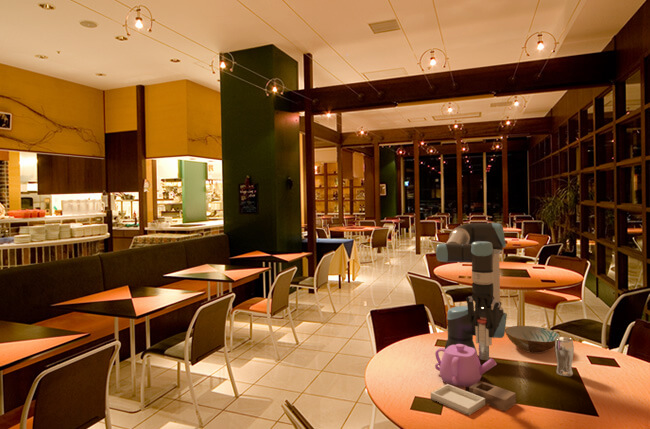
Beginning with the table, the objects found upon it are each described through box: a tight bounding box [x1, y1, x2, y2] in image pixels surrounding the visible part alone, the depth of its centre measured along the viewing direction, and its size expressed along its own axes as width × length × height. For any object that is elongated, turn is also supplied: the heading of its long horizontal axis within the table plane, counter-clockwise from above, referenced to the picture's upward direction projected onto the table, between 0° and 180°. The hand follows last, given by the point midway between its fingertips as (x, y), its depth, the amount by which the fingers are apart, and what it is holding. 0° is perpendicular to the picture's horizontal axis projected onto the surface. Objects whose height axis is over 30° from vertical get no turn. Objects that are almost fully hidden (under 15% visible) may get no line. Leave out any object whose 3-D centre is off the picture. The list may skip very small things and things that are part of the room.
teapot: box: [434, 344, 497, 388], centre depth 170 cm, size 19×21×14 cm
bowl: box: [505, 325, 562, 354], centre depth 201 cm, size 25×25×8 cm
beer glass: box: [554, 335, 575, 377], centre depth 171 cm, size 7×7×15 cm
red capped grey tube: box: [477, 318, 490, 361], centre depth 152 cm, size 4×4×15 cm
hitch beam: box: [468, 380, 517, 412], centre depth 150 cm, size 14×8×4 cm, turn 39°
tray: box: [430, 383, 486, 416], centre depth 150 cm, size 16×11×2 cm
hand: (483, 343), depth 152 cm, fingers closed on red capped grey tube, 3 cm apart
